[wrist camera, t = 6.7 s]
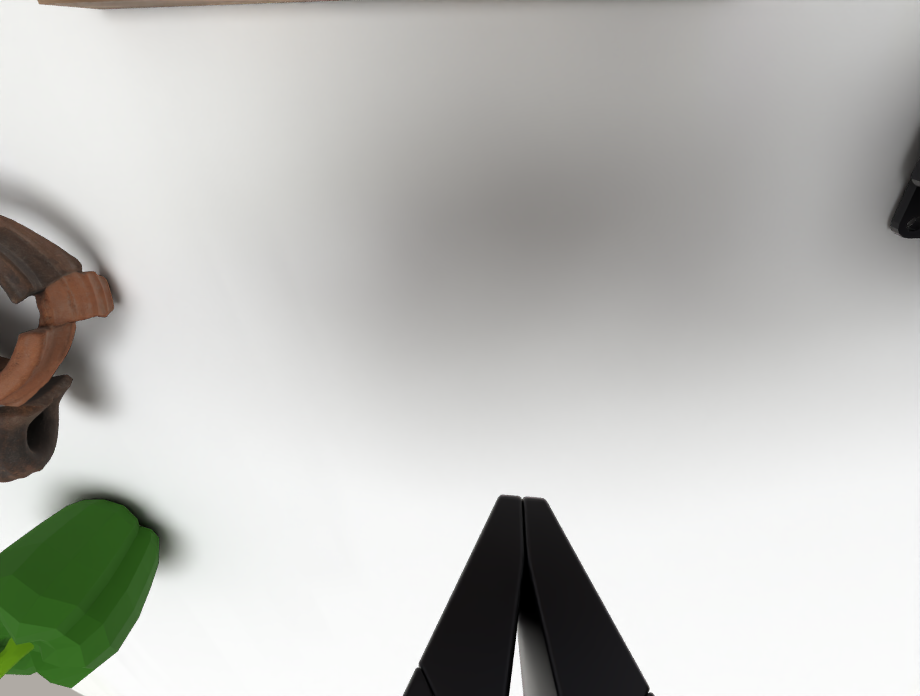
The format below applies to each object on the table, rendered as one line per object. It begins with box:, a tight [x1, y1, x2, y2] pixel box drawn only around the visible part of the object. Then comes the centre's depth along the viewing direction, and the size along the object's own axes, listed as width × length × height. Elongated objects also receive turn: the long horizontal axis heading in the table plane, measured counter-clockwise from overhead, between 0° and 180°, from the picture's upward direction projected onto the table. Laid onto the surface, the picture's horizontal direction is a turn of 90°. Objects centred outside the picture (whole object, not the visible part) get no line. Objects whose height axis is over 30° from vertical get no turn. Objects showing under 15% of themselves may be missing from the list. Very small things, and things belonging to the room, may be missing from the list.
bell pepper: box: [0, 499, 159, 688], centre depth 27 cm, size 8×8×10 cm
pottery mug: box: [0, 215, 114, 482], centre depth 21 cm, size 12×10×8 cm
